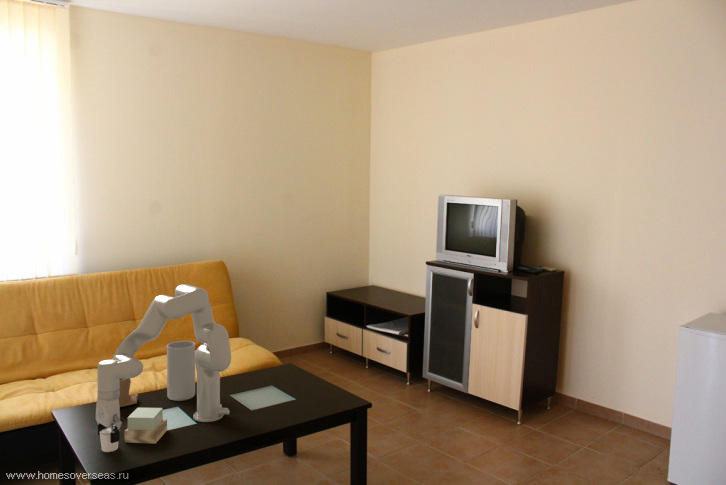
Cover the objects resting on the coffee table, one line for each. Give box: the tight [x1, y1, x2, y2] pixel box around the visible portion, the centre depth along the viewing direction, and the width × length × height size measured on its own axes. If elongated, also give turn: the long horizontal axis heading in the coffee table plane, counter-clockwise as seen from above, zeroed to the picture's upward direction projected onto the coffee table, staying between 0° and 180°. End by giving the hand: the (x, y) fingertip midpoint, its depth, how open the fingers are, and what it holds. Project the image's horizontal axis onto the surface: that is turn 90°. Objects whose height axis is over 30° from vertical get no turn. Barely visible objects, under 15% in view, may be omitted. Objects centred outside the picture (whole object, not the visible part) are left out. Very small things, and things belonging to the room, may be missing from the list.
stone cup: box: [119, 378, 139, 408], centre depth 255 cm, size 15×12×15 cm
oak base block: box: [123, 418, 168, 444], centre depth 225 cm, size 12×12×5 cm
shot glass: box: [99, 426, 119, 453], centre depth 214 cm, size 7×7×7 cm
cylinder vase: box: [166, 340, 196, 402], centre depth 267 cm, size 12×12×25 cm
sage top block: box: [127, 407, 164, 430], centre depth 225 cm, size 10×10×5 cm
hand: (108, 438), depth 213 cm, fingers open, 9 cm apart
